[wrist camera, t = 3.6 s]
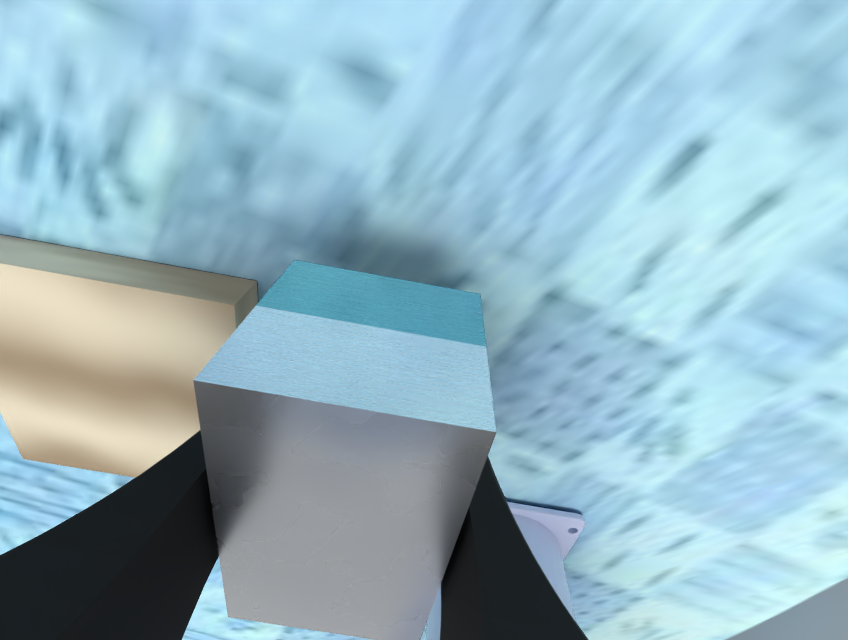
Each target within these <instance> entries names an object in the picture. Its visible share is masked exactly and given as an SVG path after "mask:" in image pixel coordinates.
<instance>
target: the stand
mask: <svg viewBox="0 0 848 640" xmlns="http://www.w3.org/2000/svg"><path fill="white" fill-rule="evenodd" d="M257 304H258V293H257V281H254V280H248V279H243V278H237V277H232V276H226V275H221V274H215V273H210V272H204V271H199V270H193V269H188V268H182V267H177V266H171V265H166V264H160V263H155V262H149V261H144V260H138V259H133V258H127V257H122V256H116V255H111V254H105V253H99V252H94V251H88V250H83V249H77V248H72V247H66V246H61V245H55V244H50V243H44V242H39V241H33V240H28V239H22V238H17V237H11V236H6V235H0V412H1V414H2V416H3V419H4V421H5V423H6V425H7V427H8V429H9V431H10V433H11V435H12V437H13V439H14V441H15V443H16V445H17V447H18V449H19V451H20V454H21V456H22V458H23V459H27V460H33V461H39V462H45V463H51V464H57V465H63V466H69V467H75V468H81V469H87V470H93V471H99V472H105V473H112V474H118V475H124V476H130V477H137V476H139V475H140V474H142V473H143V472H144V471H146V470H147V469H149V468H150V467H151V466H153V465H154V464H156V463H157V462H158V461H160V460H161V459H163V458H164V457H165V456H167V455H168V454H170V453H171V452H172V451H174V450H175V449H176V448H178V447H179V446H180V445H182V444H183V443H184V442H185V441H187V440H188V439H189V438H190V437H192V436H193V435H194V434H196V433H197V432H198V431H199V430H200V423H199V416H198V409H197V402H196V396H195V389H194V382H193V380H194V379H195V378H196V376H197V375H198V374H199V373H200V372H201V370H202V369H203V368H204V367H205V366H206V364H207V363H208V362H209V361H210V360H211V359H212V357H213V356H214V355H215V354H216V353H217V351H218V350H219V349H220V348H221V347H222V345H223V344H224V343H225V342H226V341H227V339H228V338H229V337H230V336H231V335H232V334H233V332H234V331H235V330H236V329H237V328H238V326H239V325H240V324H241V323H242V322H243V320H244V319H245V318H246V317H247V316H248V315H249V313H250V312H251V311H252V310H253V309H254V307H255V306H256V305H257Z"/></svg>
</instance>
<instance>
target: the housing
mask: <svg viewBox="0 0 848 640" xmlns="http://www.w3.org/2000/svg"><path fill="white" fill-rule="evenodd" d="M193 382H194V389H195V396H196V402H197V409H198V416H199V423H200V430H201V436H202V443H203V450H204V457H205V464H206V470H207V477H208V484H209V491H210V498H211V504H212V511H213V518H214V525H215V532H216V538H217V545H218V552H219V559H220V565H221V572H222V579H223V586H224V593H225V599H226V606H227V613H228V617H231V618H237V619H244V620H250V621H257V622H263V623H270V624H277V625H283V626H290V627H296V628H303V629H309V630H316V631H322V632H329V633H336V634H342V635H349V636H355V637H362V638H368V639H375V640H420V639H421V636H422V634H423V631H424V628H425V625H426V623H427V620H428V617H429V614H430V612H431V609H432V606H433V604H434V601H435V598H436V595H437V593H438V590H439V587H440V584H441V582H442V579H443V576H444V574H445V571H446V568H447V565H448V563H449V560H450V557H451V554H452V552H453V549H454V546H455V544H456V541H457V538H458V535H459V533H460V530H461V527H462V524H463V522H464V519H465V516H466V514H467V511H468V508H469V505H470V503H471V500H472V497H473V494H474V492H475V489H476V486H477V484H478V481H479V478H480V475H481V473H482V470H483V467H484V464H485V462H486V459H487V456H488V454H489V451H490V448H491V445H492V443H493V440H494V437H495V434H496V425H495V417H494V408H493V400H492V391H491V382H490V374H489V365H488V357H487V348H486V339H485V331H484V322H483V313H482V305H481V296H480V294H478V293H472V292H467V291H462V290H456V289H451V288H445V287H440V286H434V285H429V284H423V283H418V282H412V281H407V280H401V279H396V278H391V277H385V276H380V275H374V274H369V273H363V272H358V271H352V270H347V269H341V268H336V267H330V266H325V265H319V264H314V263H309V262H303V261H298V260H294V261H293V262H292V263H291V265H290V266H289V267H288V268H287V269H286V271H285V272H284V273H283V274H282V275H281V277H280V278H279V279H278V280H277V281H276V282H275V284H274V285H273V286H272V287H271V288H270V290H269V291H268V292H267V293H266V294H265V296H264V297H263V298H262V299H261V300H260V301H259V303H258V304H257V305H256V306H255V307H254V309H253V310H252V311H251V312H250V313H249V315H248V316H247V317H246V318H245V319H244V320H243V322H242V323H241V324H240V325H239V326H238V328H237V329H236V330H235V331H234V332H233V334H232V335H231V336H230V337H229V338H228V339H227V341H226V342H225V343H224V344H223V345H222V347H221V348H220V349H219V350H218V351H217V353H216V354H215V355H214V356H213V357H212V359H211V360H210V361H209V362H208V363H207V364H206V366H205V367H204V368H203V369H202V370H201V372H200V373H199V374H198V375H197V376H196V378H195V379H194V380H193Z"/></svg>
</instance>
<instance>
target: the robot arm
mask: <svg viewBox="0 0 848 640" xmlns="http://www.w3.org/2000/svg"><path fill="white" fill-rule="evenodd" d="M584 527H585V520H584V517H583V516H582V515H580V514H577V513H571V512H565V511H559V510H553V509H547V508H541V507H535V506H529V505H523V504H517V503H511V502H507V501H506V499H505V497H504V494H503V492H502V490H501V488H500V485H499V483H498V481H497V478H496V476H495V473H494V471H493V468H492V466H491V463H490V460H489V458H488V456H487V459H486V462H485V464H484V467H483V470H482V473H481V475H480V478H479V481H478V484H477V486H476V489H475V492H474V494H473V497H472V500H471V503H470V505H469V508H468V511H467V514H466V516H465V519H464V522H463V524H462V527H461V530H460V533H459V535H458V538H457V541H456V544H455V546H454V549H453V552H452V554H451V557H450V560H449V563H448V565H447V568H446V571H445V574H444V576H443V579H442V582H441V584H440V587H439V590H438V593H437V595H436V598H435V601H434V604H433V606H432V609H431V612H430V614H429V617H428V620H427V637H426V640H588V639H587V637H586V636H585V634H584V633H583V631H582V630H581V629H580V627H579V626H578V624H577V623H576V620H575V615H574V610H573V606H572V601H571V597H570V592H569V587H568V583H567V578H566V574H565V569H564V564H563V560H564V559H565V557H566V555H567V554H568V552H569V551H570V549H571V547H572V546H573V544H574V543H575V541H576V539H577V538H578V536H579V535H580V533H581V531H582V530H583V528H584ZM218 557H219V552H218V545H217V538H216V532H215V525H214V518H213V511H212V504H211V498H210V491H209V484H208V477H207V470H206V464H205V457H204V450H203V443H202V436H201V430H199V431H198V432H197V433H196V434H194V435H193V436H192V437H190V438H189V439H188V440H187V441H185V442H184V443H183V444H182V445H180V446H179V447H178V448H176V449H175V450H174V451H172V452H171V453H170V454H168V455H167V456H165V457H164V458H163V459H161V460H160V461H158V462H157V463H156V464H154V465H153V466H151V467H150V468H149V469H147V470H146V471H144V472H143V473H142V474H140V475H139V476H137V477H136V478H134V479H133V480H131V481H130V482H128V483H127V484H125V485H124V486H122V487H121V488H119V489H117V490H116V491H114V492H113V493H111V494H110V495H108V496H106V497H105V498H103V499H102V500H100V501H98V502H97V503H95V504H93V505H92V506H90V507H88V508H87V509H85V510H83V511H81V512H80V513H78V514H76V515H75V516H73V517H71V518H69V519H68V520H66V521H64V522H62V523H61V524H59V525H57V526H55V527H54V528H52V529H50V530H48V531H46V532H45V533H43V534H41V535H39V536H37V537H35V538H33V539H32V540H30V541H28V542H26V543H24V544H22V545H20V546H18V547H16V548H14V549H12V550H10V551H8V552H6V553H4V554H2V555H0V640H182V637H183V635H184V632H185V630H186V627H187V625H188V623H189V620H190V618H191V616H192V613H193V611H194V609H195V606H196V604H197V602H198V599H199V597H200V595H201V592H202V590H203V587H204V585H205V583H206V581H207V579H208V577H209V575H210V573H211V571H212V568H213V566H214V564H215V562H216V561H217V559H218Z"/></svg>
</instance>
